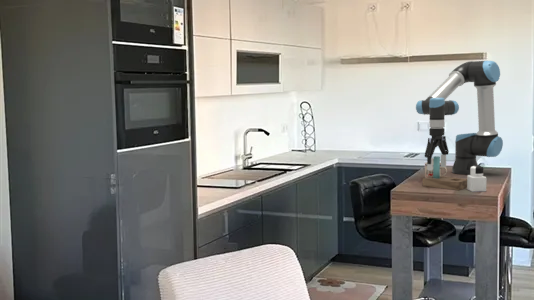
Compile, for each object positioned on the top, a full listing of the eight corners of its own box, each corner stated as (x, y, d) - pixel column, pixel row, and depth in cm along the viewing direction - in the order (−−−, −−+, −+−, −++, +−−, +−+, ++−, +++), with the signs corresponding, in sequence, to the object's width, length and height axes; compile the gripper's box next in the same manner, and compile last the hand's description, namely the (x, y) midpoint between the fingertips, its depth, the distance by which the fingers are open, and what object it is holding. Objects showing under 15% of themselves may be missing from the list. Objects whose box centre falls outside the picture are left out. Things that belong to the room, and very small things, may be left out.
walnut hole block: (434, 183, 331) (434, 175, 331) (469, 187, 317) (469, 179, 317) (422, 186, 323) (422, 178, 322) (458, 190, 309) (458, 182, 308)
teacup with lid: (422, 180, 341) (422, 159, 339) (426, 178, 349) (426, 157, 347) (445, 181, 335) (445, 160, 334) (448, 179, 343) (448, 158, 342)
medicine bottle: (480, 189, 311) (481, 165, 310) (486, 191, 304) (486, 167, 303) (466, 189, 311) (467, 165, 309) (471, 191, 304) (472, 167, 302)
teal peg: (435, 184, 326) (435, 156, 324) (440, 185, 324) (441, 156, 322) (432, 185, 324) (432, 156, 322) (437, 186, 322) (437, 157, 320)
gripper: (442, 125, 332) (442, 165, 334) (417, 129, 314) (417, 171, 317) (455, 126, 327) (455, 166, 329) (430, 130, 309) (430, 172, 312)
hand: (436, 168), depth 323 cm, fingers open, 13 cm apart
